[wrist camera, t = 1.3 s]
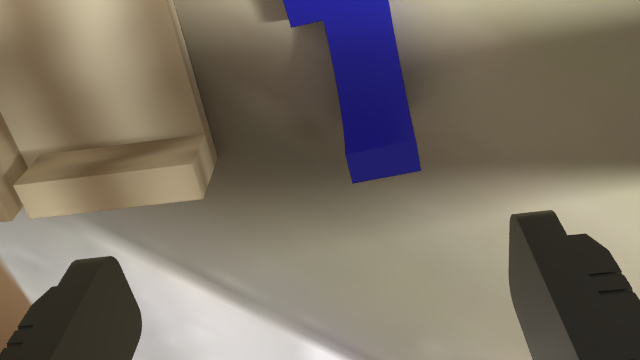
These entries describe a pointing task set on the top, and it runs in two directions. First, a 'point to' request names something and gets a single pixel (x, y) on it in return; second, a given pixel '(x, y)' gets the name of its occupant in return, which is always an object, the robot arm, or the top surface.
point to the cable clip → (366, 84)
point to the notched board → (98, 108)
